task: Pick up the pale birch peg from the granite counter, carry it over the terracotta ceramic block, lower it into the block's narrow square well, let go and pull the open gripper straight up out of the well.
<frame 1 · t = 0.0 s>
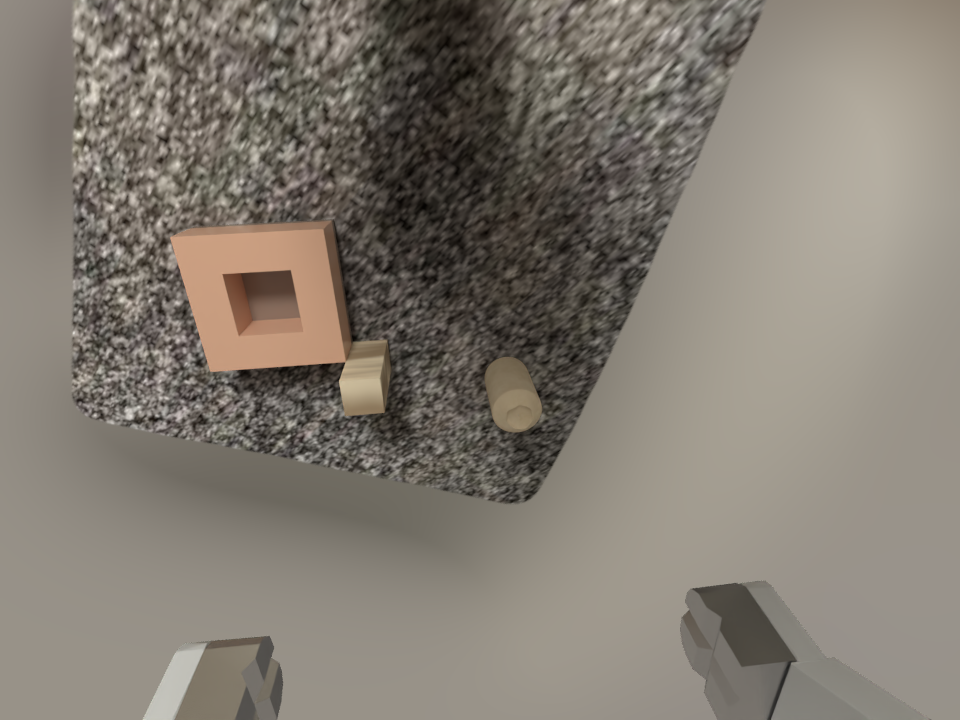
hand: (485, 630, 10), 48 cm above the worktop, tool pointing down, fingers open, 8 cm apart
well block: (279, 287, 54), on the worktop
candle: (505, 375, 62), on the worktop
peg: (372, 356, 59), on the worktop
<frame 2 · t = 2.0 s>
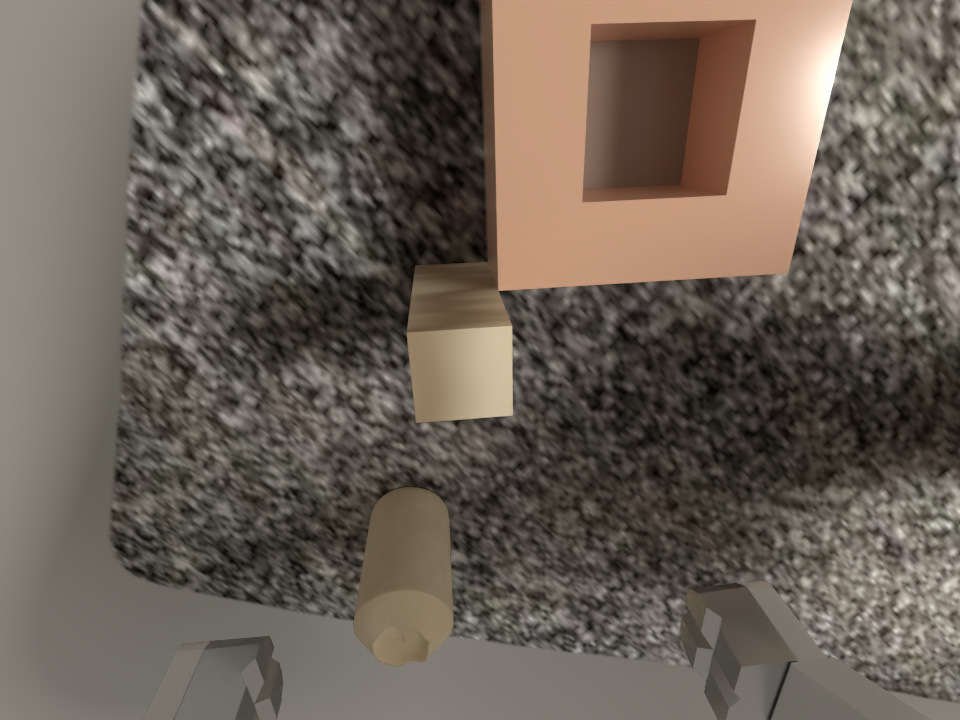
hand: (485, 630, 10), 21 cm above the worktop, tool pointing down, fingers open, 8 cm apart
well block: (618, 118, 25), on the worktop
candle: (410, 514, 35), on the worktop
peg: (453, 297, 29), on the worktop
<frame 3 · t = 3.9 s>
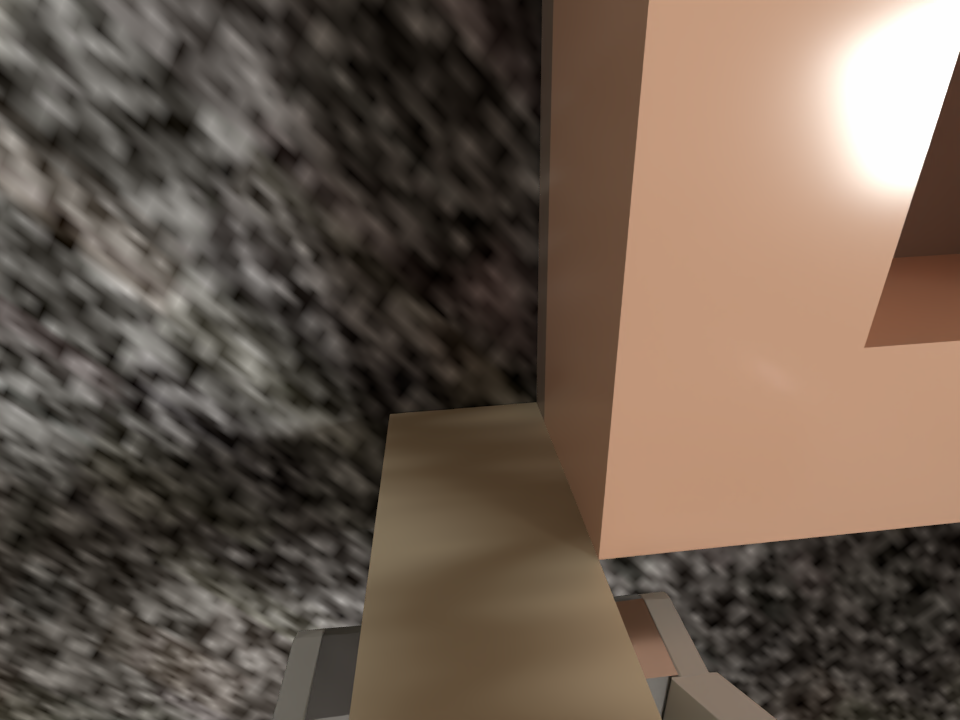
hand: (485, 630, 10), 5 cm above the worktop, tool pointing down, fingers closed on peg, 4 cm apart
well block: (848, 107, 11), on the worktop
peg: (467, 467, 14), on the worktop, touching gripper
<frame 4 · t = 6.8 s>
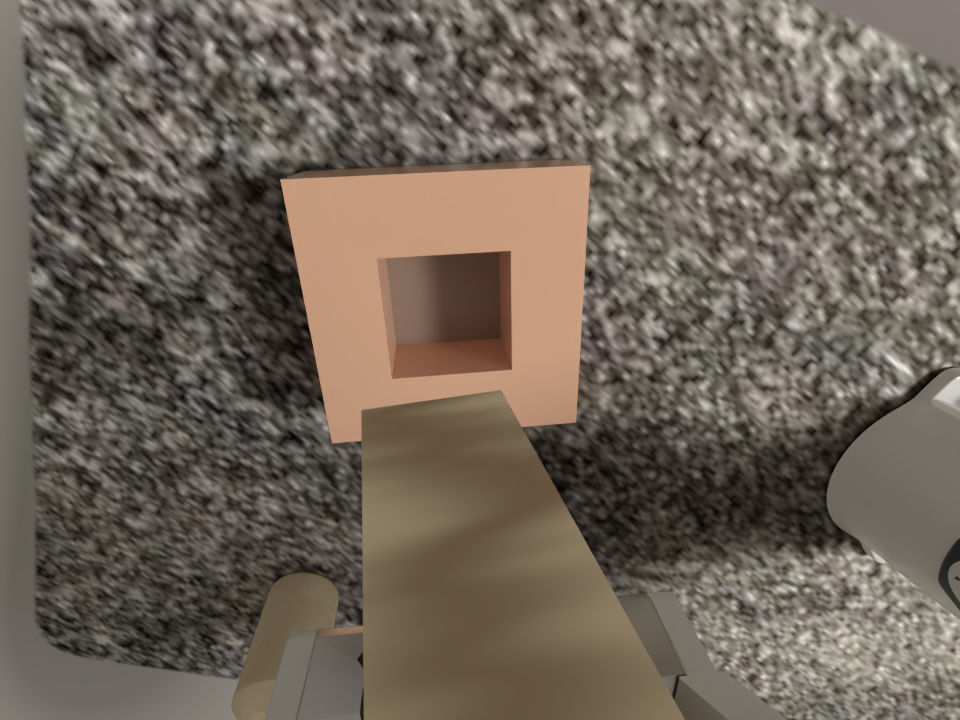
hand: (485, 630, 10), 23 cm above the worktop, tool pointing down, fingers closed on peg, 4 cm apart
well block: (444, 286, 30), on the worktop
candle: (305, 593, 40), on the worktop
peg: (438, 457, 15), point 17 cm above the worktop, tilted 7°, touching gripper
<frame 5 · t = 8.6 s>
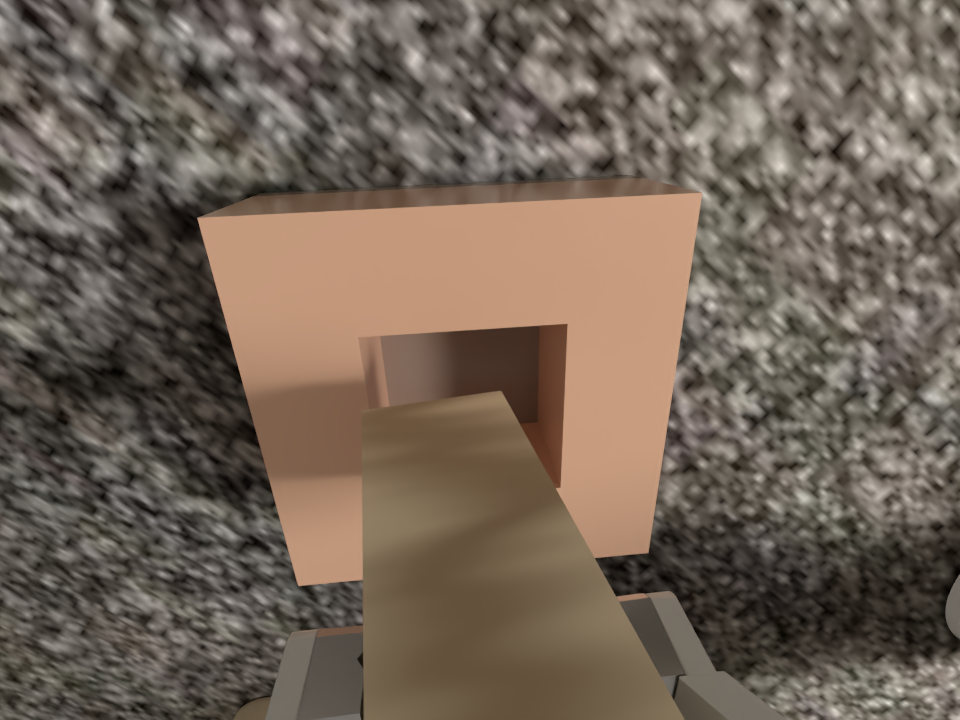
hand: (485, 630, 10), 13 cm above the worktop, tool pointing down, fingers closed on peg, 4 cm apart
well block: (461, 352, 22), on the worktop
candle: (279, 717, 32), on the worktop
peg: (438, 458, 15), point 7 cm above the worktop, tilted 8°, touching gripper
when the fingers open (8 cm above the worktop, at t = 10.1 s): peg stays where it is, resting on well block.
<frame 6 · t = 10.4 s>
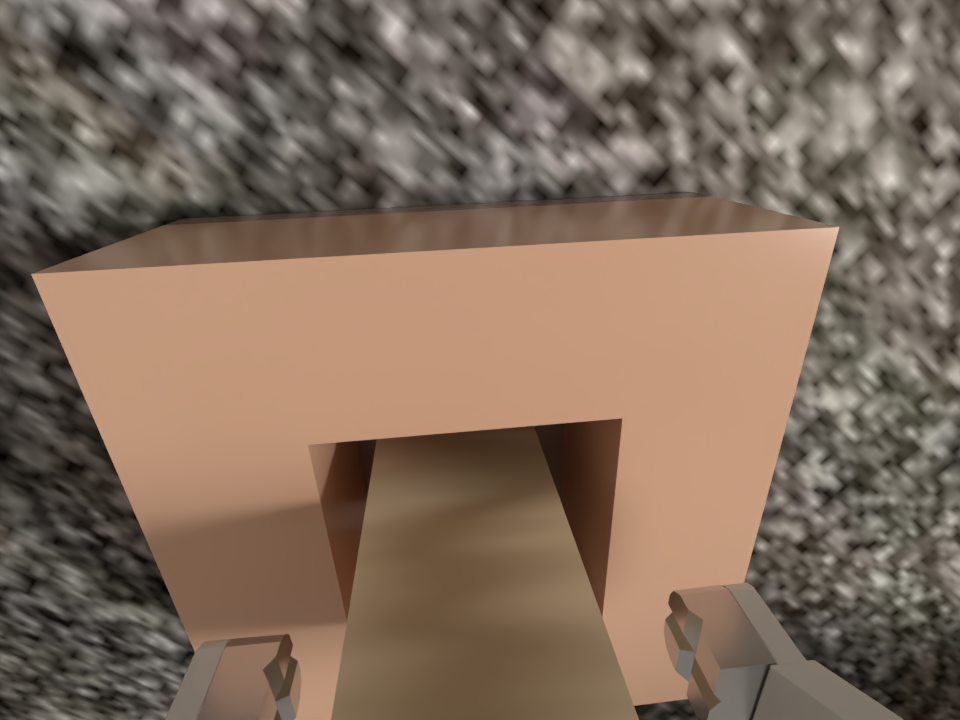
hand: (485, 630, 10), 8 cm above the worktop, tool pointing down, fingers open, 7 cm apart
well block: (460, 422, 17), on the worktop
peg: (455, 442, 16), point 1 cm above the worktop, touching well block
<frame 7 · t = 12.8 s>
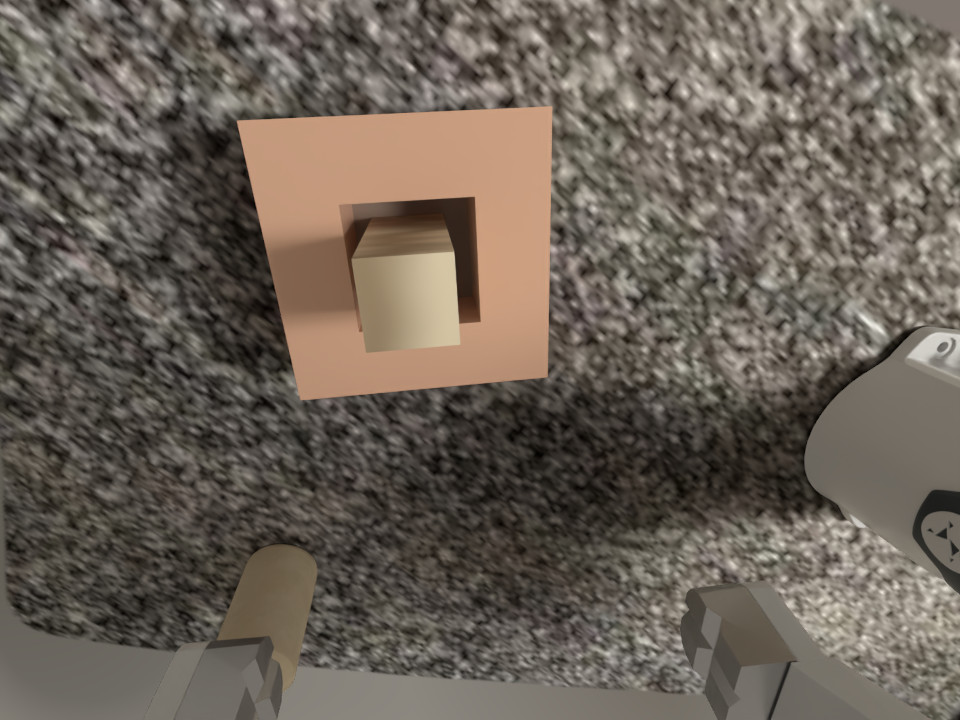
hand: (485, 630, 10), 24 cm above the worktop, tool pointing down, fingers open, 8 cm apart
well block: (414, 244, 30), on the worktop
candle: (283, 566, 40), on the worktop
peg: (411, 250, 29), point 1 cm above the worktop, touching well block
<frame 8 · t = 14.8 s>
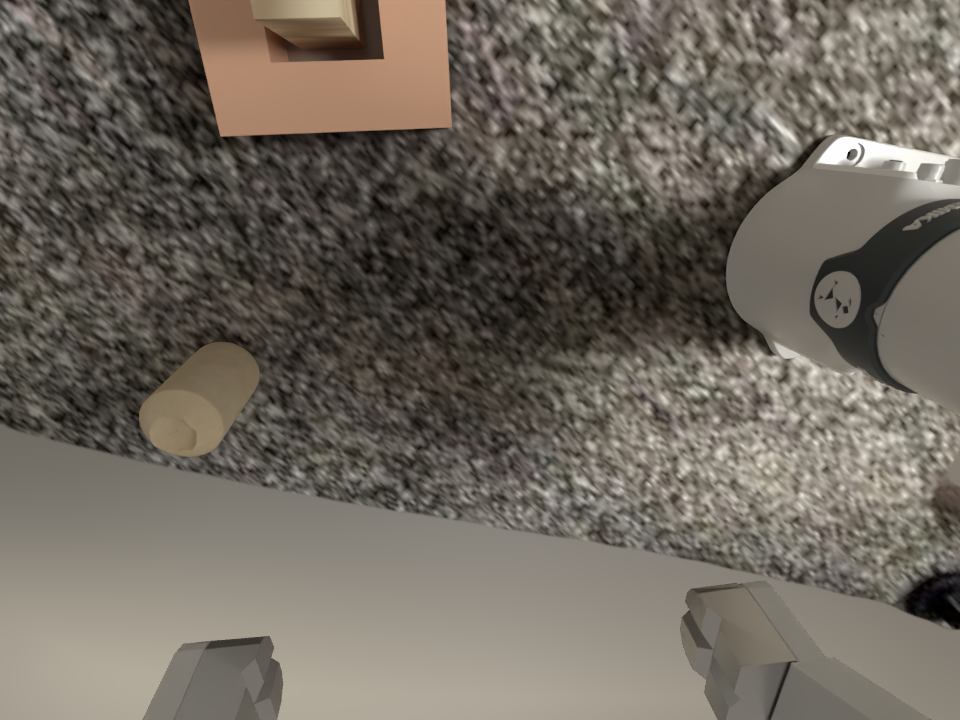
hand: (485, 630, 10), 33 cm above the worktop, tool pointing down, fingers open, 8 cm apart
well block: (335, 13, 32), on the worktop
candle: (228, 369, 42), on the worktop
peg: (329, 12, 31), point 1 cm above the worktop, touching well block
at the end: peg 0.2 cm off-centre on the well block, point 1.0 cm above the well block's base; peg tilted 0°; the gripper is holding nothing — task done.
